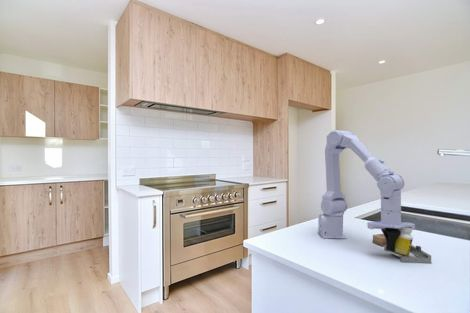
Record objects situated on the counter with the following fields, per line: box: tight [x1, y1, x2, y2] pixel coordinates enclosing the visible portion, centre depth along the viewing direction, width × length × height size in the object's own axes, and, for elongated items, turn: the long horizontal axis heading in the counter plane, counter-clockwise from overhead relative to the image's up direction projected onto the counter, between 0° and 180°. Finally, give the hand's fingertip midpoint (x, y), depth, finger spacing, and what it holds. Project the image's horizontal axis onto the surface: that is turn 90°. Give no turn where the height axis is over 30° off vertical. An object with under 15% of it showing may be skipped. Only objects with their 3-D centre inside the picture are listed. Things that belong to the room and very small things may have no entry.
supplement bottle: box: [389, 227, 414, 258], centre depth 81 cm, size 5×5×10 cm
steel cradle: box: [383, 244, 432, 264], centre depth 82 cm, size 9×10×3 cm
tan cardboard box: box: [372, 233, 387, 247], centre depth 93 cm, size 6×4×3 cm, turn 107°
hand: (390, 250), depth 81 cm, fingers closed, pressing on supplement bottle
